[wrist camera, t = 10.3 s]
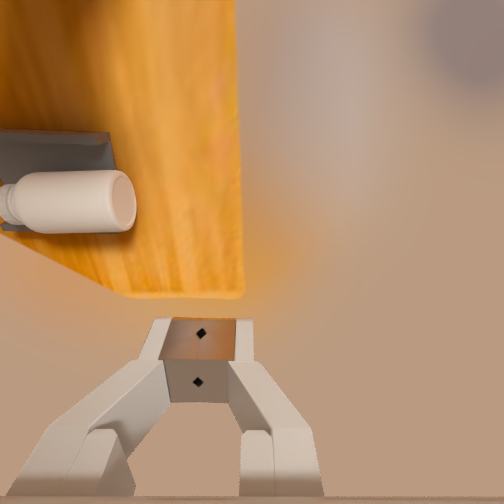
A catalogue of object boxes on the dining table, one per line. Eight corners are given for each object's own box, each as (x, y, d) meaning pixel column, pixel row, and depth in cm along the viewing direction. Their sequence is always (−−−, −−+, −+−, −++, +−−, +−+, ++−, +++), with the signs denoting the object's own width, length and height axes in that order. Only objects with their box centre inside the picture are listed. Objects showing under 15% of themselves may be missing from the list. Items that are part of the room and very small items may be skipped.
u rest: (-17, 127, 36) (-42, 130, 33) (109, 132, 36) (95, 136, 33) (21, 220, 42) (3, 230, 39) (127, 223, 43) (117, 234, 40)
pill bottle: (100, 187, 31) (-32, 192, 31) (125, 243, 36) (11, 247, 36) (125, 158, 37) (14, 163, 37) (143, 210, 42) (45, 214, 42)
